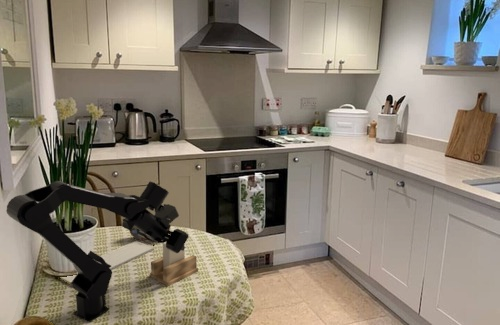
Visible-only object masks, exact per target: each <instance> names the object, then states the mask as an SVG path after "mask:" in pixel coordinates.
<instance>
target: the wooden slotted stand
mask: <svg viewBox="0 0 500 325" xmlns="http://www.w3.org/2000/svg"><path fill="white" fill-rule="evenodd" d="M197 272H199V268H198V267H197V256H196V255H194V254H191V255H190V256H187V257H185V259H183V260H181V261H178V262H176V263H174V264H172V265H169V266H167V267H165V268H163V256H162V257H160V258H157V259H154V260H152V261H150V273H149V276H150V277H151V278H153V279H155V280H156V281H158V282H161V283H162V284H164V285H166V286H167V287H169V286H171V285H173V284H176V283H178V282H180V281H182V280H184V279H186V278H188V277H189V276H192V275H194V274H196V273H197Z"/></svg>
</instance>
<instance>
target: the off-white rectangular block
mask: <svg viewBox="0 0 500 325" xmlns="http://www.w3.org/2000/svg"><path fill="white" fill-rule="evenodd" d="M162 257H163V268H165V267H167V266H169V265H172V264H174V263H176V262H178V261H181V260H183V259H185V258H186V257H185V249H184V250H183V251H181V250H180V252H179V253H175V252H173V251H171V250H169V249H167V248H166V242H164V243H162Z"/></svg>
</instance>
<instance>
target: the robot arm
mask: <svg viewBox="0 0 500 325" xmlns="http://www.w3.org/2000/svg"><path fill="white" fill-rule="evenodd" d="M169 194H170V193H169V191H168V190H167V189H166V188H164V187H162V186H160V185H158V184H157V183H155V182H153V181H151V180H150V181H149V182H148V183H147V185H146V187H145V189H144V190H143V192H142V193H140V196H138V195H136V194H131V195H129V194H125V193H120V192H108V193H107V192H99V191H96V190H93V189H88V188H84V187H80V186H76V185H73V184H69V183H66V182H63V181H61V180H55V181H53V182H50V184H47V185H46V186H43V187H42V186H41V187H39V188H36V189H33V190H30V191H29V192H26V193H25V194H19V195H16V196H14V197H12V198H11V199H9V201H8V203H7V205H6V214H7V215H8V216H9V218H11V219H13V220H15V221H16V222H17V223H19V224H20V225H22V226H24V227H25V228H27V229H29V230H31V231H33V232H35V233H36V234H38V235H39V236H40V237H42V239H43V240H45V241H46V242H47V243H48V244H50V245H51V246H52V247H53V248H54V249H55V250H57V252H59V253H60V254H61V255H62V256H63V257H64V258H65V259H67V261H69V262H70V263H71V264H72V265H73V268H74V267H75V270H76V271H77V273H78V274H77V275H76V277H75V278H74V279H73V281H72V282H71V285H70V286H72V288H73V290H75V291H77V293H76V294H75V301H76V310H75V311H73V315H74V316H76V317H78V318H80V319H81V320H84V321H86V322H92V321H94V320H95V319H97V318H98V317H100V316H101V315H103V314H105V313H106V312H108V311H110V307H108V306H106V304H107V303H106V294H107V293H108V288H109V285H110V281H111V279H112V276H113V271H112V270H111V269H110V267H111V265H109V264H108V263H106V262H105V261H104V259H103V258H102V257H100V256H101V255H99V254H97V253H96V252H94V251H92V250H89V252H88V254H87V253H86V252H85V251H84V250H83V249H82V248H81V247H80V246H79V245H77V243H75V242H74V240H72V239H71V238H70V237H69V236H68V235H67V234H66V233H65V232H64V231H63V230H61V229H60V228H59V227H58V226H57V225H56V224H55V223H54V221H53V219H52V216H51V214H52V213H54V212H55V211H56V210H57V209H58V208H59V207H60V206H61V205H62V204H63V203H65V202H66V201H67V202H71V203H77V204H80V205H85V206H89V207H95V208H97V209H98V208H99V209H104V210H107V211H109V212H111V213H113V214H116V215H119V216H120V217H123V219H122V224H121V226H122V228H124V229H127V230H128V231H130V230H131V229H132V228H133V226H135V227H136V228H137V234H138V235H140V236H141V237H143V238H146V239H148V240H147V241H151V242H154V243H160V244H163V243H164V242H166V248H167V249H169V250H171V251H173V252H175V253H179V252H180V250H181V251H183V250H184V251H185V248H186V246H185V244H186V242H187V240H188V238H189V234H188V233H187V232H186V231H183V230H182V229H179V228H175V229H173V231H171V230H170V231H169V230H168V229H169V228H170V229H171V227H172V225H171V223H173V221H175V219H177V218H179V216H180V214H179V212H178V209H177V208H176V206H174V205H172V204H168V203H167V204H166V203H164V202H165V200H166V198H167V197H168V195H169ZM163 203H164V204H163ZM149 210H150V211H149ZM151 211H154V214H153V213H152V212H151ZM146 236H147V237H146Z"/></svg>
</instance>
